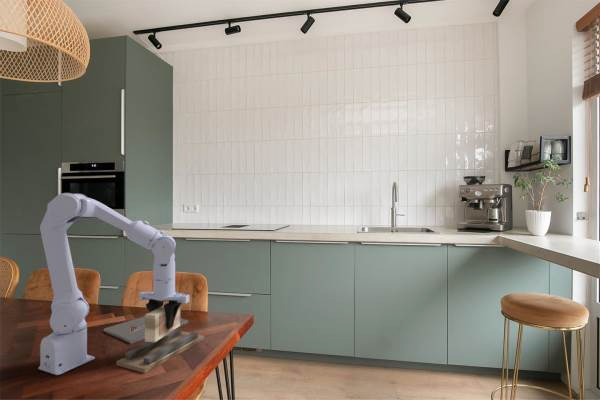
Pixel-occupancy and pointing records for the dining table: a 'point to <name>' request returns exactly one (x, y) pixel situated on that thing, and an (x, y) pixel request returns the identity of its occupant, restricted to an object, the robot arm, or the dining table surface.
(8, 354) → the dining table surface
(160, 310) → the cream rectangular block
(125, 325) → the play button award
